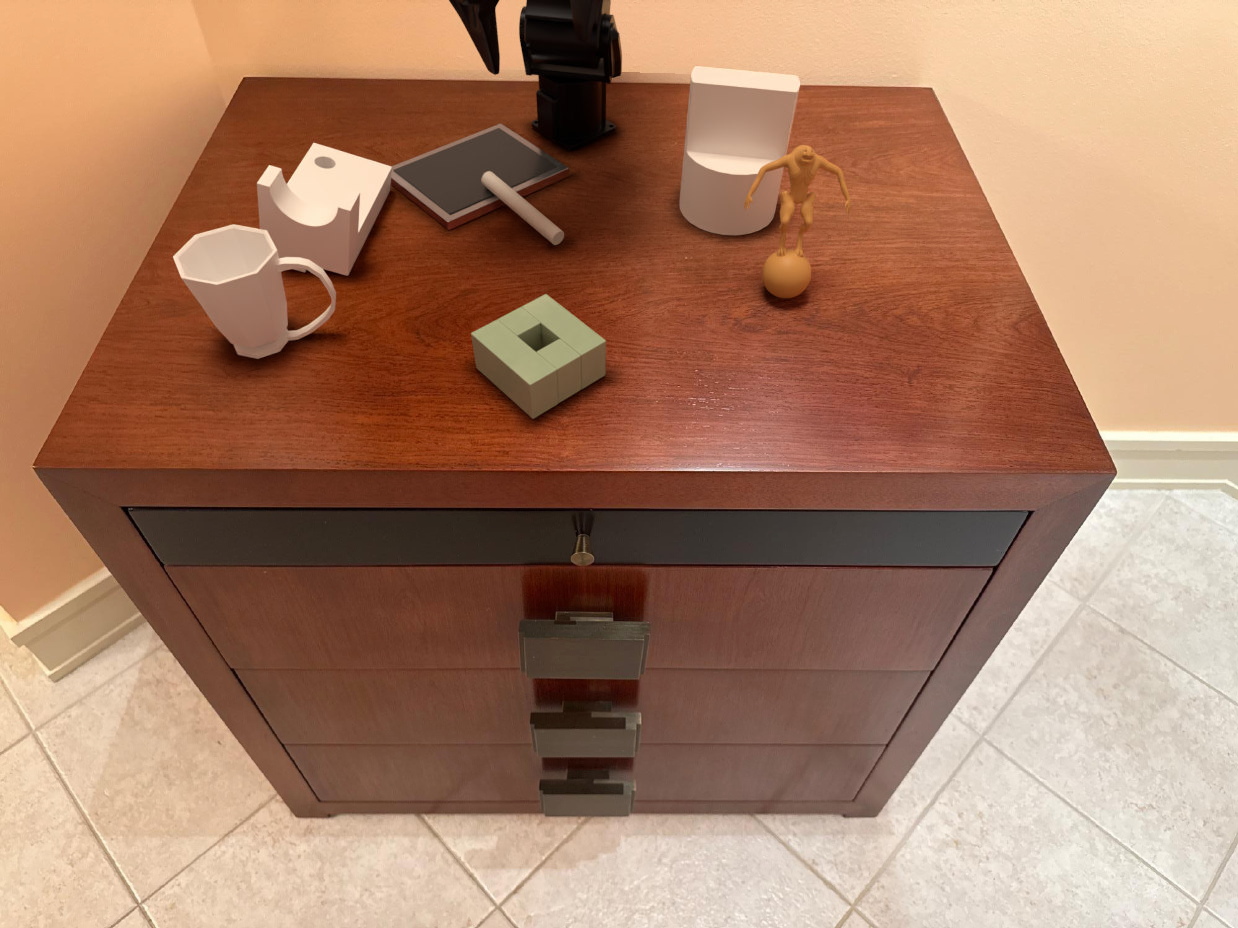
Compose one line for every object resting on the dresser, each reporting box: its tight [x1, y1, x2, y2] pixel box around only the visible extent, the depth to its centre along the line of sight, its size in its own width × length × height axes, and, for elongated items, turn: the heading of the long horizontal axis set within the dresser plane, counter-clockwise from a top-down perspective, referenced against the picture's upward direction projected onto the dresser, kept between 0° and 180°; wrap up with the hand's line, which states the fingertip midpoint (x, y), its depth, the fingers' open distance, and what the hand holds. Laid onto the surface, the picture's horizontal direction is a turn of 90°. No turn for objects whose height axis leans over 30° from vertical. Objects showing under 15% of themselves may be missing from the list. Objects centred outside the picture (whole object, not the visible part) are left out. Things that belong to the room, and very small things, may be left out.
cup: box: [172, 223, 337, 360], centre depth 60 cm, size 7×10×8 cm
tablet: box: [390, 123, 570, 231], centre depth 78 cm, size 14×11×1 cm
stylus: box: [481, 171, 565, 246], centre depth 73 cm, size 1×1×11 cm
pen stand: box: [470, 293, 607, 420], centre depth 60 cm, size 7×7×4 cm
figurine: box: [744, 144, 851, 299], centre depth 64 cm, size 8×6×12 cm
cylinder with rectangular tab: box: [678, 65, 801, 236], centre depth 71 cm, size 9×9×12 cm
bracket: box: [256, 142, 392, 276], centre depth 69 cm, size 13×7×8 cm, turn 175°
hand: (539, 56), depth 66 cm, fingers open, 9 cm apart
